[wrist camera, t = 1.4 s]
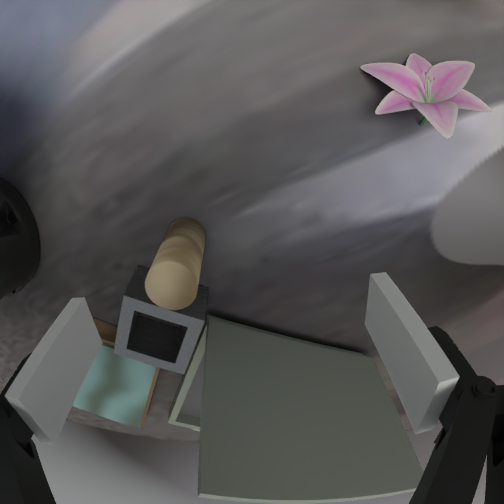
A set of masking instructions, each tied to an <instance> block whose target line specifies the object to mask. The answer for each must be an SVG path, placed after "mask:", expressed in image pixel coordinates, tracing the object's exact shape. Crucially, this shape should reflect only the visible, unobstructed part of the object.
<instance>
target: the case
mask: <svg viewBox="0 0 504 504" xmlns="http://www.w3.org/2000/svg"><path fill="white" fill-rule="evenodd" d="M168 423H170V424H174V425H178V426H183V427H187V428H191V429H193V430H198V431H200V443H199V468H198V497H203V498H211V499H220V500H228V501H239V502H253V503H277V504H304V503H305V504H306V503H329V502H343V501H352V500H362V499H371V498H378V497H384V496H391V495H397V494H402V493H407V492H412V491H415V490H416V488H417V486H418V484H419V482H420V480H421V478H422V475H423V473H424V472H423V470H422V467H421V465H420V462H419V460H418V458H417V455H416V453H415V451H414V448H413V446H412V444H411V441H410V439H409V437H408V434H407V432H406V430H405V428H404V425H403V423H402V421H401V419H400V416H399V414H398V412H397V410H396V408H395V406H394V403H393V401H392V399H391V397H390V395H389V393H388V390H387V388H386V386H385V384H384V382H383V380H382V378H381V376H380V374H379V372H378V370H377V367H376V365H375V363H374V361H373V359H372V358H371V357H365V356H364V355H363V353H358V352H354V351H349V350H344V349H340V348H335V347H331V346H326V345H322V344H318V343H313V342H309V341H305V340H301V339H297V338H292V337H288V336H284V335H280V334H277V333H273V332H269V331H265V330H261V329H257V328H254V327H250V326H246V325H243V324H239V323H235V322H232V321H228V320H225V319H221V318H218V317H214V316H211V315H207V316H206V319H205V322H204V325H203V327H202V330H201V332H200V335H199V337H198V340H197V343H196V345H195V348H194V350H193V353H192V355H191V358H190V360H189V363H188V366H187V368H186V371H185V373H184V375H183V378H182V380H181V383H180V386H179V388H178V391H177V393H176V396H175V399H174V401H173V404H172V407H171V409H170V412H169V417H168Z"/></svg>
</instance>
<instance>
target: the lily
mask: <svg viewBox="0 0 504 504" xmlns="http://www.w3.org/2000/svg"><path fill="white" fill-rule="evenodd" d="M360 68H361V69H362V70H364V71H365V72H367V73H369V74H371V75H372V76H374V77H376V78H378V79H379V80H381V81H382V82H384V83H385V84H387V85H388V86H390V87H391V88H392V89H394V90H393V91H391V92H390V93H389V94H388V95H386V97H385V98H384V99H383V100H382V101H381V103H380V104H379V105H378V107H377V109H376V111H375V114H386V113H392V112H398V111H404V110H410V109H416V108H417V109H418V110H419V111H420V112H421V113H422V114H423V115H424V117H423V119H422V120H421V122H420V124H419V125H420V126H422V124H423V123H424V121H425V119H427V120H428V121H429V122H430V123H431V124H432V125H433V126H434V127H435V128H436V130H437V131H438V132H439V133H440V134H441V135H443V136H444V137H446V138H450V137H452V134H453V132H454V129H455V125H456V120H457V114H458V108H461V109H469V110H476V111H483V112H492V110H491V109H490V108H489V107H488V106H487V105H486V104H485V103H484V102H483V101H481V100H480V99H479V98H477V97H476V96H474V95H473V94H471V93H470V92H468V91H466V90H464V89H462V88H463V87H464V86H465V84H466V83H467V81H468V79H469V78H470V76H471V74H472V72H473V70H474V68H475V64H474V63H471V62H467V61H447V62H441V63H438V64H436V65H434V66H432V65H431V64H430V63H429V62H428V61H426V60H425V59H424V58H422V57H421V56H419V55H417V54H415V53H413V54H410V55H409V57H408V59H407V63H406V66H403V65H400V64H395V63H370V64H365V65H362V66H360Z"/></svg>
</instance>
